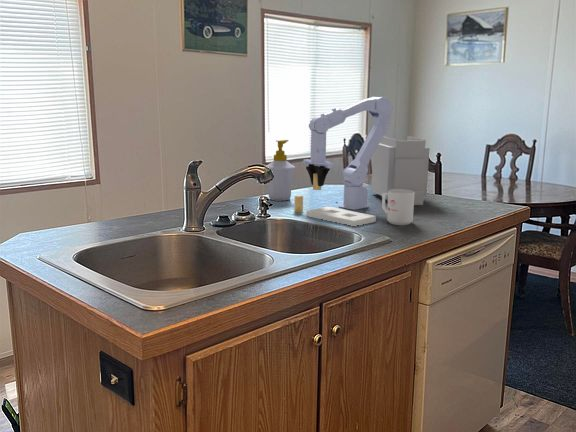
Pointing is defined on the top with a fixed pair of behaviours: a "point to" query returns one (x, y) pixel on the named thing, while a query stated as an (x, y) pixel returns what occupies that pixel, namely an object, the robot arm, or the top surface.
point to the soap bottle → (281, 175)
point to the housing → (341, 216)
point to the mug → (399, 206)
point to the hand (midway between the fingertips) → (317, 185)
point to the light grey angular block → (401, 167)
